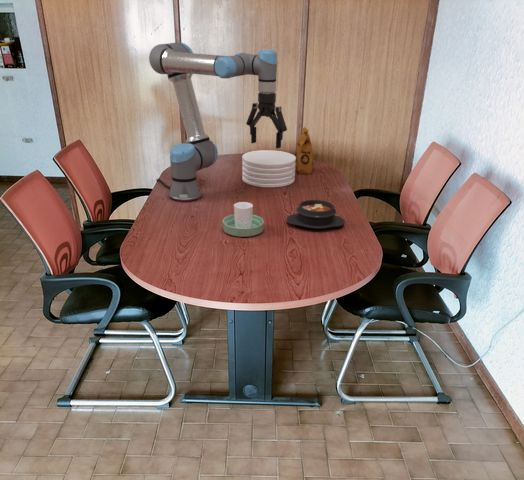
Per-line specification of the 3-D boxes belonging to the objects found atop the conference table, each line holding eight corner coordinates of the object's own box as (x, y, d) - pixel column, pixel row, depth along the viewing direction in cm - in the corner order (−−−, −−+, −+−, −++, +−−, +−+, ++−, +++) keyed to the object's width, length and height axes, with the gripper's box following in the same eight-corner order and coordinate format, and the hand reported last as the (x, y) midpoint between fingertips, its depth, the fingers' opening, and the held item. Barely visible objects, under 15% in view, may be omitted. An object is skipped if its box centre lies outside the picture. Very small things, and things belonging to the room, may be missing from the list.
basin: (214, 231, 217) (214, 221, 215) (240, 219, 229) (240, 210, 226) (246, 241, 209) (246, 232, 207) (271, 229, 220) (272, 219, 218)
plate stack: (304, 177, 281) (305, 155, 275) (277, 190, 262) (278, 167, 255) (260, 168, 293) (260, 147, 287) (231, 180, 274) (231, 158, 267)
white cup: (250, 232, 215) (250, 209, 209) (231, 231, 216) (231, 207, 210) (254, 225, 221) (254, 202, 215) (236, 224, 222) (236, 201, 216)
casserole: (286, 231, 218) (287, 212, 214) (286, 215, 234) (287, 197, 229) (345, 233, 218) (348, 214, 213) (342, 217, 233) (344, 199, 228)
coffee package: (295, 174, 286) (297, 131, 274) (294, 167, 296) (296, 126, 284) (313, 174, 286) (316, 132, 274) (311, 168, 296) (314, 127, 284)
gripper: (296, 94, 214) (293, 148, 226) (249, 87, 226) (248, 139, 238) (286, 97, 209) (284, 151, 221) (238, 89, 221) (238, 142, 233)
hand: (265, 145), depth 230 cm, fingers open, 13 cm apart
